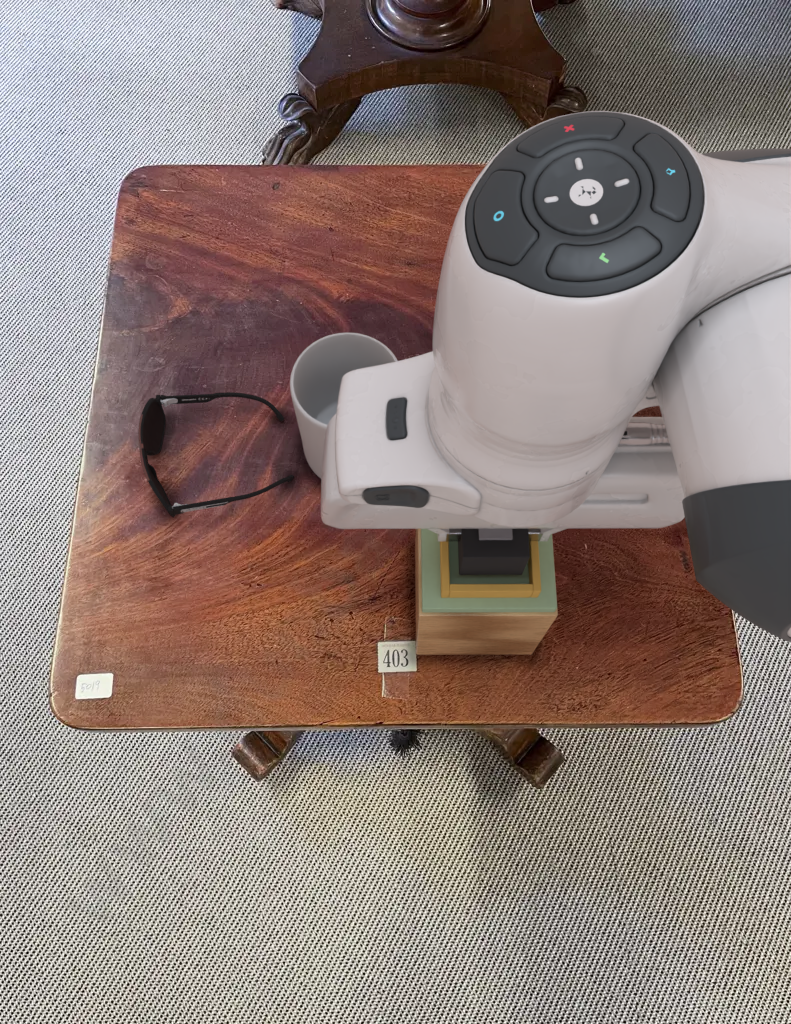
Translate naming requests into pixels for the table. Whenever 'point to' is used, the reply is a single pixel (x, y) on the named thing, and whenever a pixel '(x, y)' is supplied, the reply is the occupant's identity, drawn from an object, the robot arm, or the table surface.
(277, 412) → the sunglasses
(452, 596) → the base pad
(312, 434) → the mug
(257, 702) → the table surface
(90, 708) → the table surface
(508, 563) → the black block
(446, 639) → the stand
